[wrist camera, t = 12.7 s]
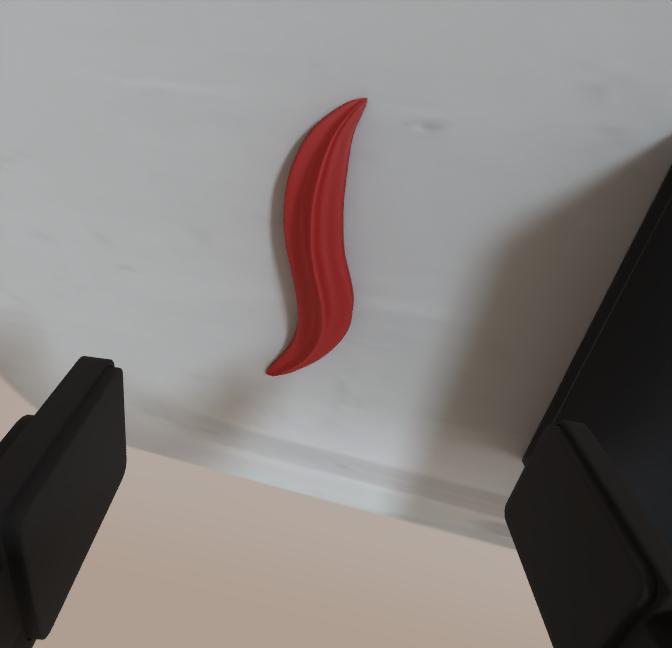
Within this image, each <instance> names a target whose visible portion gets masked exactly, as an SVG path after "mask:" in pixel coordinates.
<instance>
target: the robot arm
mask: <svg viewBox="0 0 672 648" xmlns="http://www.w3.org/2000/svg"><path fill="white" fill-rule="evenodd" d="M125 469H126V437H125V414H124V390H123V372H122V369H121V368H117V367H115V366H114V362H113V361H112V360H110V359H102V358H95V357H87V356H83V357H81V358H80V359H79V360H78V361H77V362H76V363H75V365H74V366H73V367H72V368H71V370H70V371H69V372H68V374H67V375H66V376H65V377H64V379H63V380H62V381H61V382H60V384H59V385H58V386H57V387H56V389H55V390H54V391H53V393H52V394H51V395H50V396H49V398H48V399H47V400H46V401H45V403H44V404H43V405H42V406H41V408H40V409H39V410H38V411H37V413H36V414H35V415H26V416H23V417H22V418H21V419H20V420H19V421H17V422H16V424H15V425H14V426H13V427H12V428H11V430H10V431H9V432H8V433H7V434H6V436H5V437H4V438H3V439H2V441H1V442H0V648H32V647H33V645H34V643H35V641H36V639H41V640H43V639H45V638H46V637H47V636H48V634H49V633H50V631H51V629H52V627H53V625H54V623H55V621H56V619H57V617H58V614H59V612H60V610H61V608H62V606H63V604H64V602H65V599H66V597H67V595H68V593H69V591H70V589H71V587H72V585H73V582H74V580H75V578H76V576H77V574H78V572H79V570H80V568H81V565H82V563H83V561H84V559H85V557H86V555H87V553H88V551H89V549H90V547H91V544H92V542H93V540H94V538H95V536H96V534H97V532H98V529H99V527H100V525H101V523H102V521H103V519H104V517H105V515H106V513H107V510H108V508H109V506H110V504H111V502H112V500H113V498H114V496H115V493H116V491H117V489H118V487H119V485H120V483H121V481H122V478H123V476H124V473H125ZM505 520H506V523H507V526H508V528H509V531H510V534H511V536H512V539H513V542H514V544H515V547H516V549H517V552H518V555H519V557H520V560H521V563H522V565H523V568H524V571H525V573H526V576H527V579H528V581H529V584H530V587H531V589H532V592H533V595H534V597H535V600H536V603H537V605H538V608H539V610H540V613H541V616H542V618H543V621H544V624H545V627H546V629H547V632H548V634H549V637H550V640H551V642H552V645H553V647H554V648H672V549H671V548H670V546H669V545H668V544H667V542H666V541H665V539H664V538H663V536H662V535H661V533H660V532H659V530H658V529H657V527H656V526H655V525H654V523H653V522H652V520H651V519H650V517H649V516H648V514H647V513H646V511H645V510H644V508H643V507H642V506H641V504H640V503H639V501H638V500H637V498H636V497H635V495H634V494H633V492H632V491H631V489H630V488H629V487H628V485H627V484H626V482H625V481H624V479H623V478H622V476H621V475H620V473H619V472H618V470H617V469H616V468H615V466H614V465H613V463H612V462H611V460H610V459H609V457H608V456H607V454H606V453H605V451H604V450H603V449H602V447H601V446H600V444H599V443H598V441H597V440H596V438H595V437H594V435H593V434H592V432H591V431H590V430H589V428H588V427H587V426H586V425H585V424H583V423H580V422H572V421H565V420H556V421H555V422H553V423H552V425H548V426H546V427H545V429H544V430H543V432H542V434H541V436H540V438H539V440H538V442H537V444H536V446H535V448H534V450H533V452H532V454H531V456H530V458H529V460H528V462H527V464H526V466H525V468H524V470H523V472H522V474H521V476H520V478H519V480H518V481H517V483H516V485H515V487H514V489H513V491H512V493H511V495H510V497H509V499H508V501H507V503H506V506H505Z"/></svg>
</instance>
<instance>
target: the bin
mask: <svg viewBox="0 0 672 648" xmlns="http://www.w3.org/2000/svg"><path fill="white" fill-rule="evenodd" d="M556 420H565V421H572V422H580V423H583V424H585V425H586V426H587V427H588V428H589V430H590V431H591V432H592V434H593V435H594V437H595V438H596V440H597V441H598V443H599V444H600V446H601V447H602V449H603V450H604V451H605V453H606V454H607V456H608V457H609V459H610V460H611V462H612V463H613V465H614V466H615V468H616V469H617V470H618V472H619V473H620V475H621V476H622V478H623V479H624V481H625V482H626V484H627V485H628V487H629V488H630V489H631V491H632V492H633V494H634V495H635V497H636V498H637V500H638V501H639V503H640V504H641V506H642V507H643V508H644V510H645V511H646V513H647V514H648V516H649V517H650V519H651V520H652V522H653V523H654V525H655V526H656V527H657V529H658V530H659V532H660V533H661V535H662V536H663V538H664V539H665V541H666V542H667V544H668V545H669V546H670V548H671V549H672V166H671V168H670V170H669V172H668V174H667V176H666V178H665V180H664V182H663V184H662V186H661V188H660V190H659V192H658V194H657V196H656V198H655V200H654V202H653V204H652V206H651V208H650V210H649V212H648V214H647V215H646V217H645V219H644V221H643V223H642V225H641V227H640V229H639V231H638V233H637V235H636V237H635V239H634V241H633V243H632V245H631V247H630V249H629V251H628V253H627V255H626V257H625V259H624V261H623V263H622V265H621V267H620V269H619V271H618V273H617V274H616V276H615V278H614V280H613V282H612V284H611V286H610V288H609V290H608V292H607V294H606V296H605V298H604V300H603V302H602V304H601V306H600V308H599V310H598V312H597V314H596V316H595V318H594V320H593V322H592V324H591V326H590V328H589V330H588V332H587V334H586V335H585V337H584V339H583V341H582V343H581V345H580V347H579V349H578V351H577V353H576V355H575V357H574V359H573V361H572V363H571V365H570V367H569V369H568V371H567V373H566V375H565V377H564V379H563V381H562V383H561V385H560V387H559V389H558V391H557V393H556V394H555V396H554V398H553V400H552V402H551V404H550V406H549V408H548V410H547V412H546V414H545V416H544V418H543V420H542V422H541V424H540V426H539V428H538V430H537V432H536V434H535V436H534V438H533V440H532V442H531V444H530V446H529V448H528V450H527V452H526V453H525V455H524V457H523V459H522V462H523V464H524V466H526V464H527V462H528V460H529V458H530V456H531V454H532V452H533V450H534V448H535V446H536V444H537V442H538V440H539V438H540V436H541V434H542V432H543V430H544V429H545V427H546V426H548V425H552V423H553V422H555V421H556Z"/></svg>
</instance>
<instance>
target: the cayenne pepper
mask: <svg viewBox="0 0 672 648" xmlns="http://www.w3.org/2000/svg"><path fill="white" fill-rule="evenodd" d="M366 103H367V98H362V99H356V100H352V101H350V102H347V103H345V104H343V105H342V106H340V107H338V108H337V109H335V110H334V111H333V112H331V113H330V114H328V115H327V116H326V117H325V118H323V119H322V120H321V121H320V122H319V123H317V125H316V126H315V127H314V128H313V129H312V130H311V131H310V132H309V134H308V135H307V137H306V138H305V140H304V142H303V143H302V145H301V147H300V149H299V151H298V153H297V155H296V157H295V160H294V162H293V164H292V167H291V170H290V174H289V177H288V181H287V187H286V193H285V204H284V233H285V241H286V248H287V253H288V258H289V263H290V267H291V272H292V276H293V280H294V286H295V291H296V298H297V306H298V324H297V329H296V332H295V335H294V338H293V340H292V342H291V343H290V345H289V346H288V348H287V349H286V350H285V352H284V353H283V354H282V355H281V356H280V357H279V358H278V359H277V360H276V361H275V362H274V363H273V364H272V365H271V366H270V367H269V368H268V370H267V372H266V374H268V375H270V376H278V375H283V374H288V373H291V372H294V371H296V370H298V369H301V368H303V367H305V366H307V365H310V364H312V363H314V362H315V361H317V360H319V359H320V358H322V357H323V356H325V355H326V354H327V353H328V352H330V351H331V350H332V349H333V348H334V347H335V346H336V345H337V344H338V343H339V342H340V341H341V340H342V338H343V337H344V336H345V334H346V332H347V331H348V328H349V326H350V323H351V318H352V311H353V302H354V299H353V288H352V283H351V278H350V274H349V270H348V266H347V262H346V257H345V251H344V239H343V209H344V193H345V185H346V177H347V169H348V161H349V154H350V148H351V142H352V138H353V134H354V131H355V128H356V125H357V123H358V121H359V119H360V117H361V115H362V113H363V111H364V109H365V107H366Z"/></svg>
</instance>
